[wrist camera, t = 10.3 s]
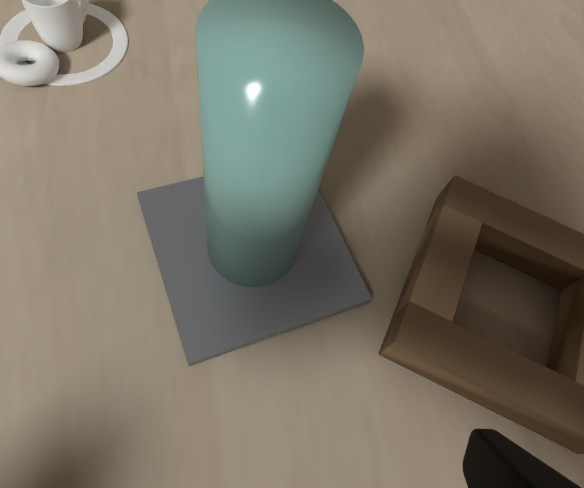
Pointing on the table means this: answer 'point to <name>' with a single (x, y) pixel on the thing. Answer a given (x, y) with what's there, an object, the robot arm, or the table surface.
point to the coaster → (239, 299)
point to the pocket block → (475, 348)
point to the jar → (268, 124)
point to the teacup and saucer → (55, 42)
